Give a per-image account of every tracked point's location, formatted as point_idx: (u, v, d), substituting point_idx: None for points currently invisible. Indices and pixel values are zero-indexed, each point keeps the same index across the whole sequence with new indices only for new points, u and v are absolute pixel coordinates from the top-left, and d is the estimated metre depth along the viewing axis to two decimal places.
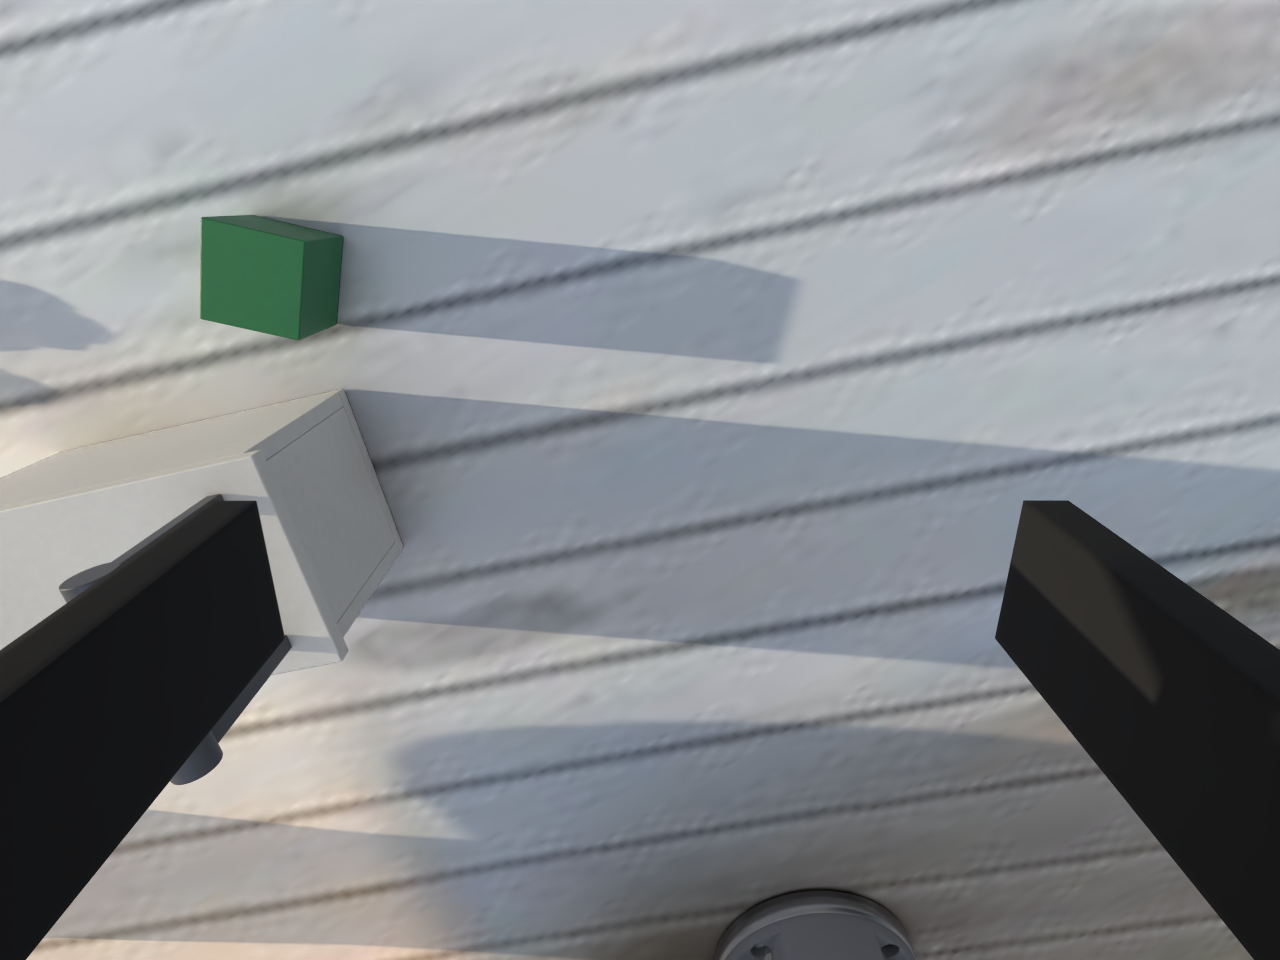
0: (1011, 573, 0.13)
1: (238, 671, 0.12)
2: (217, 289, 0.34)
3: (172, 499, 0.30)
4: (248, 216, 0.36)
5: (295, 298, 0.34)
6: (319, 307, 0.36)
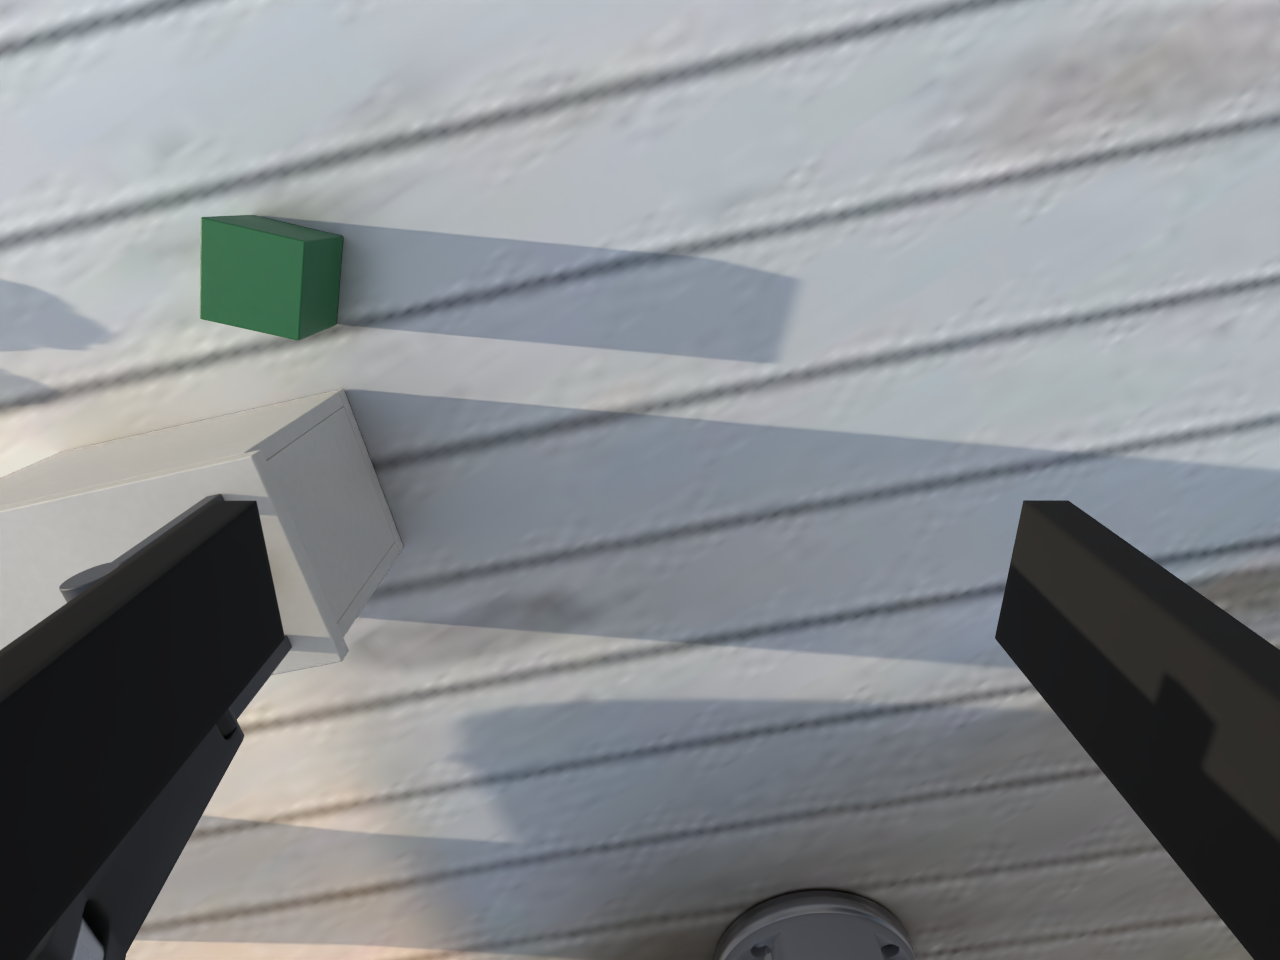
0: (1011, 573, 0.13)
1: (238, 671, 0.12)
2: (217, 289, 0.34)
3: (172, 499, 0.30)
4: (248, 216, 0.36)
5: (295, 298, 0.34)
6: (319, 307, 0.36)
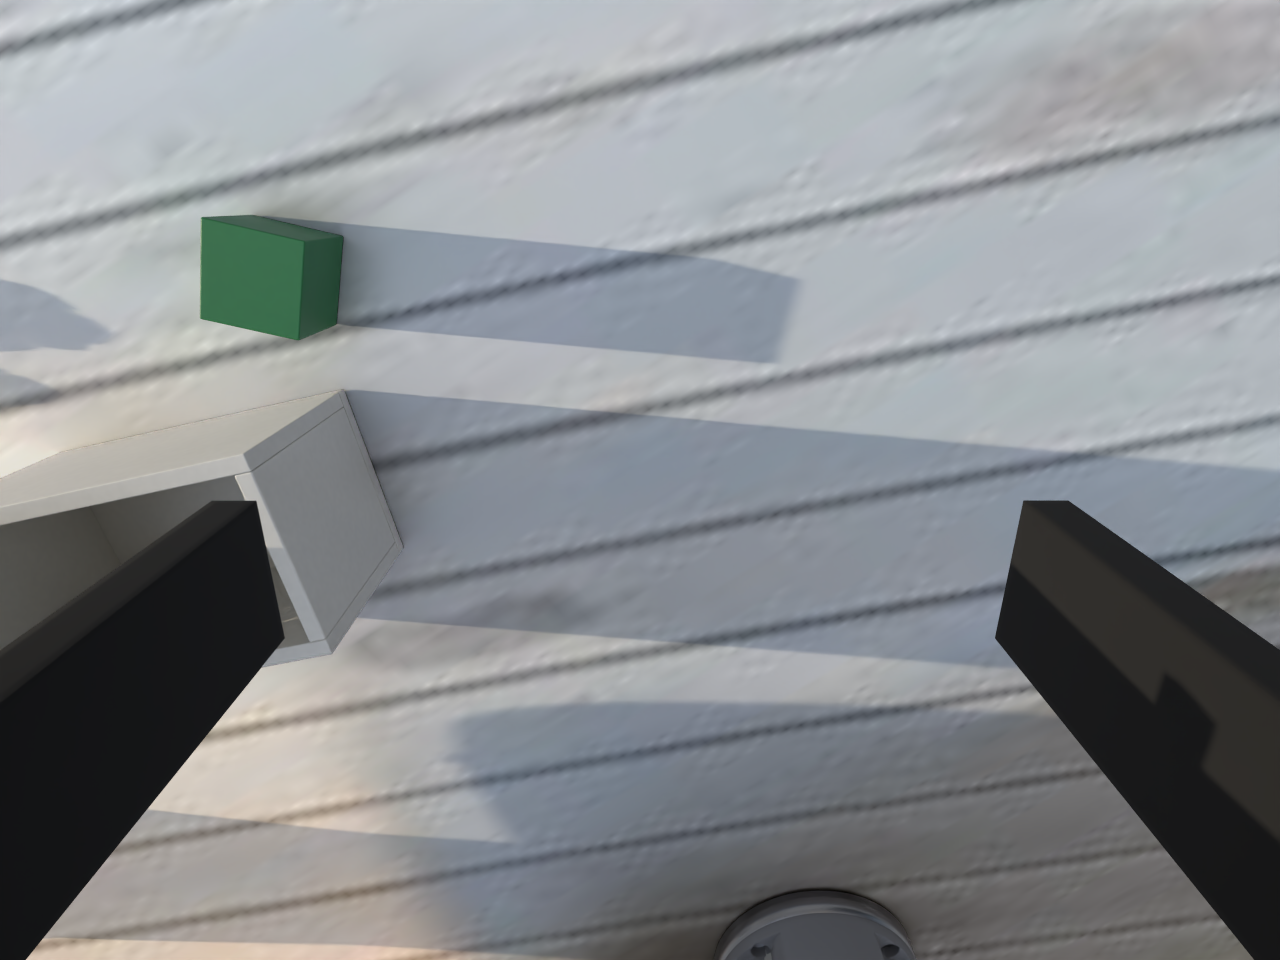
0: (1011, 573, 0.13)
1: (238, 671, 0.12)
2: (217, 289, 0.34)
3: None
4: (248, 216, 0.36)
5: (295, 298, 0.34)
6: (319, 307, 0.36)
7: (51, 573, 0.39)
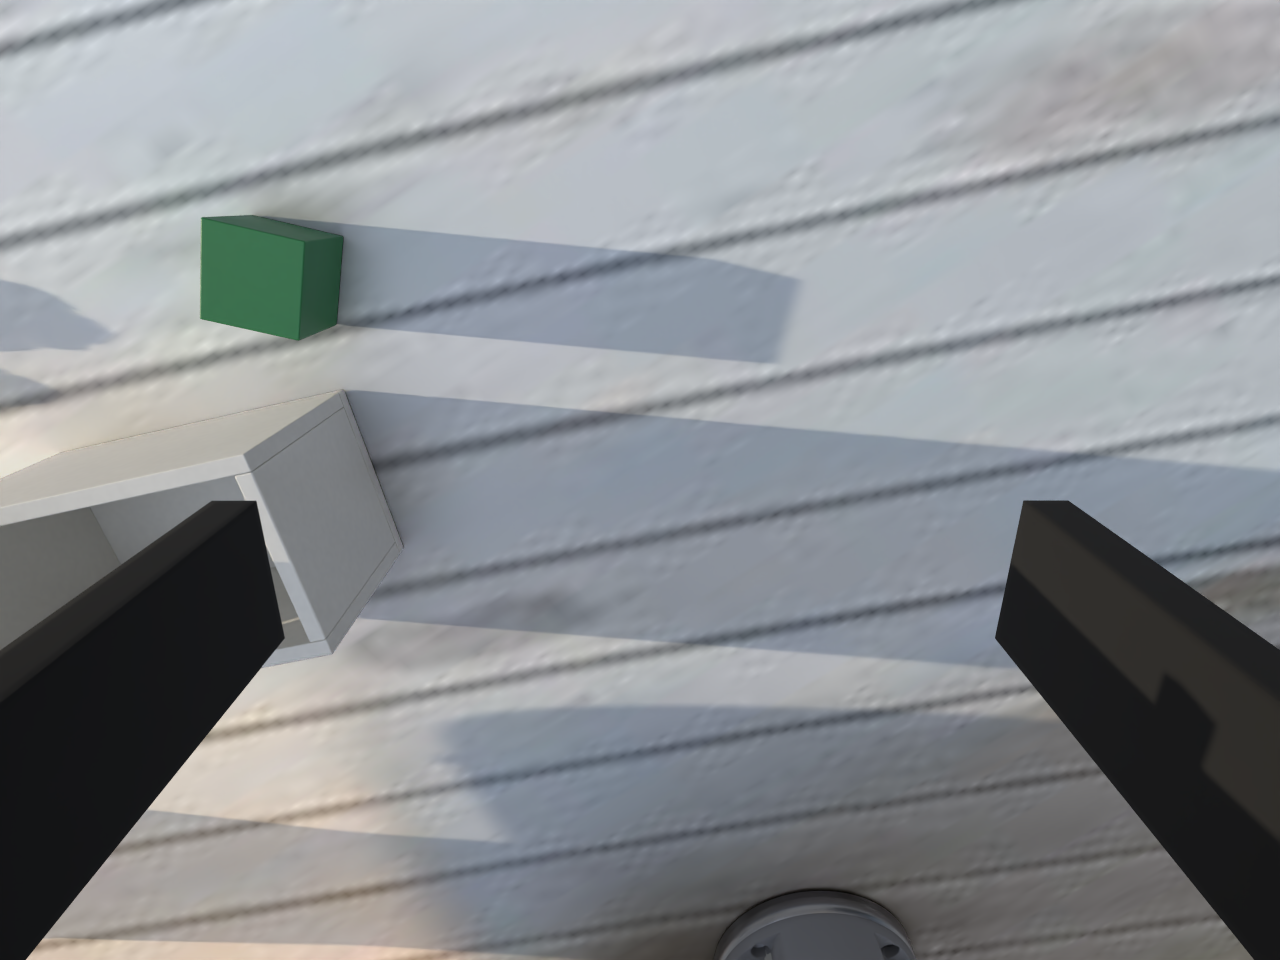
0: (1011, 573, 0.13)
1: (238, 670, 0.12)
2: (218, 289, 0.34)
3: None
4: (248, 216, 0.36)
5: (295, 298, 0.34)
6: (319, 307, 0.36)
7: (51, 574, 0.39)
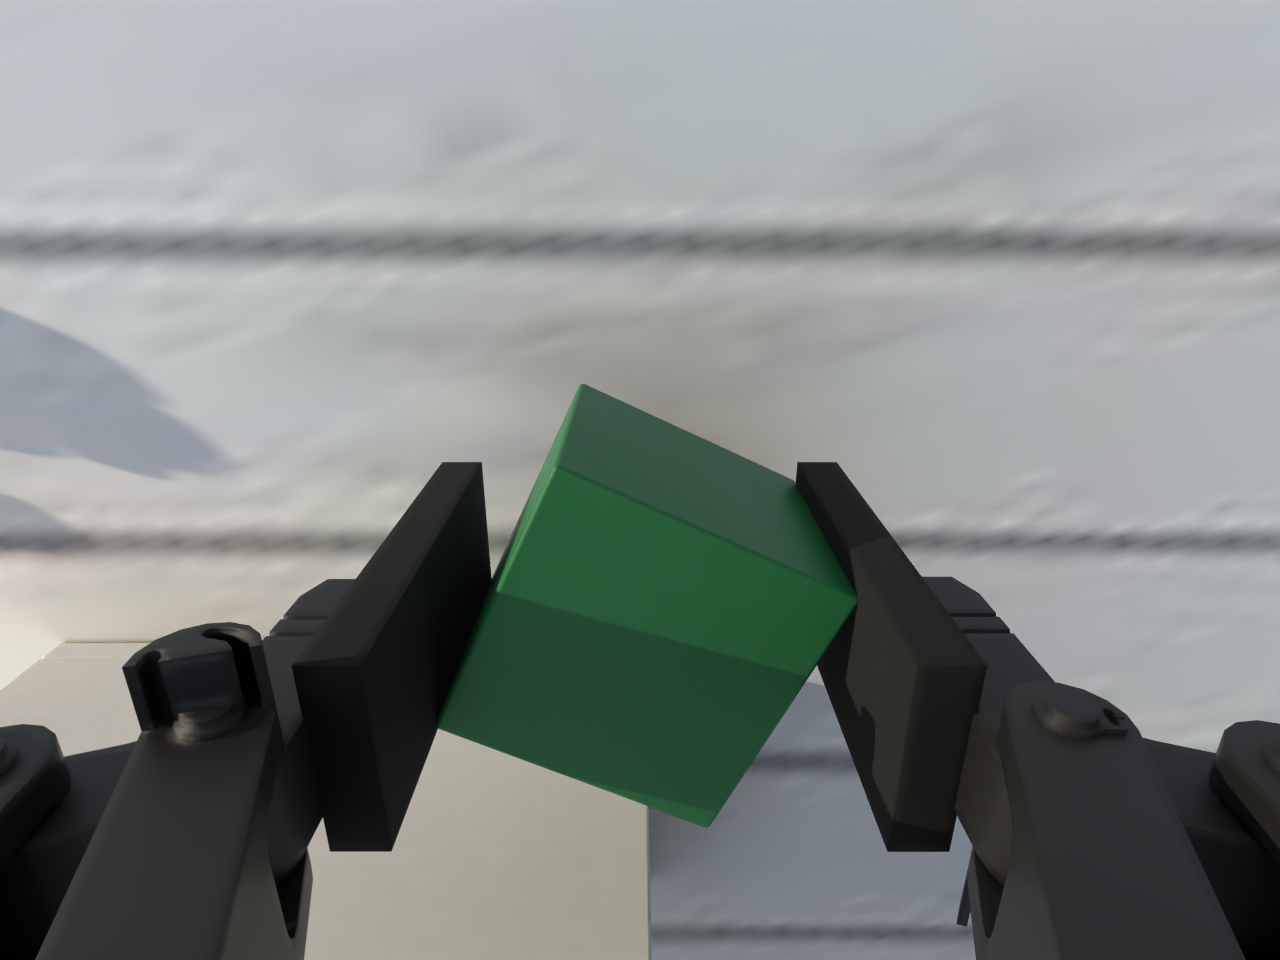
0: None
1: (475, 608, 0.13)
2: (523, 668, 0.10)
3: None
4: (594, 402, 0.13)
5: (753, 734, 0.11)
6: None
7: None
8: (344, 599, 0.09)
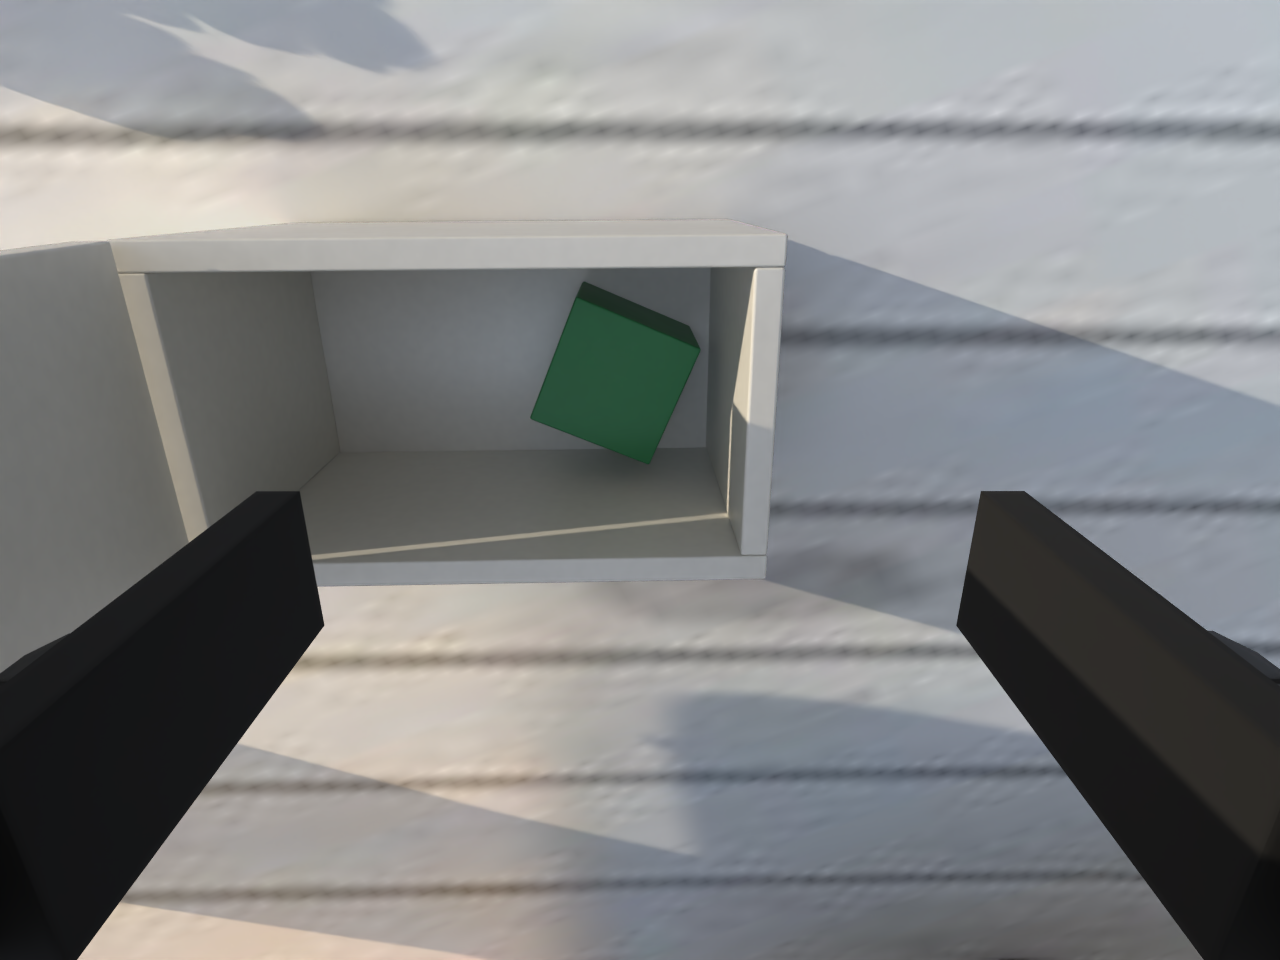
0: (971, 562, 0.13)
1: (284, 655, 0.12)
2: (567, 388, 0.25)
3: None
4: (589, 286, 0.28)
5: (663, 414, 0.26)
6: None
7: (279, 388, 0.26)
8: (27, 671, 0.08)
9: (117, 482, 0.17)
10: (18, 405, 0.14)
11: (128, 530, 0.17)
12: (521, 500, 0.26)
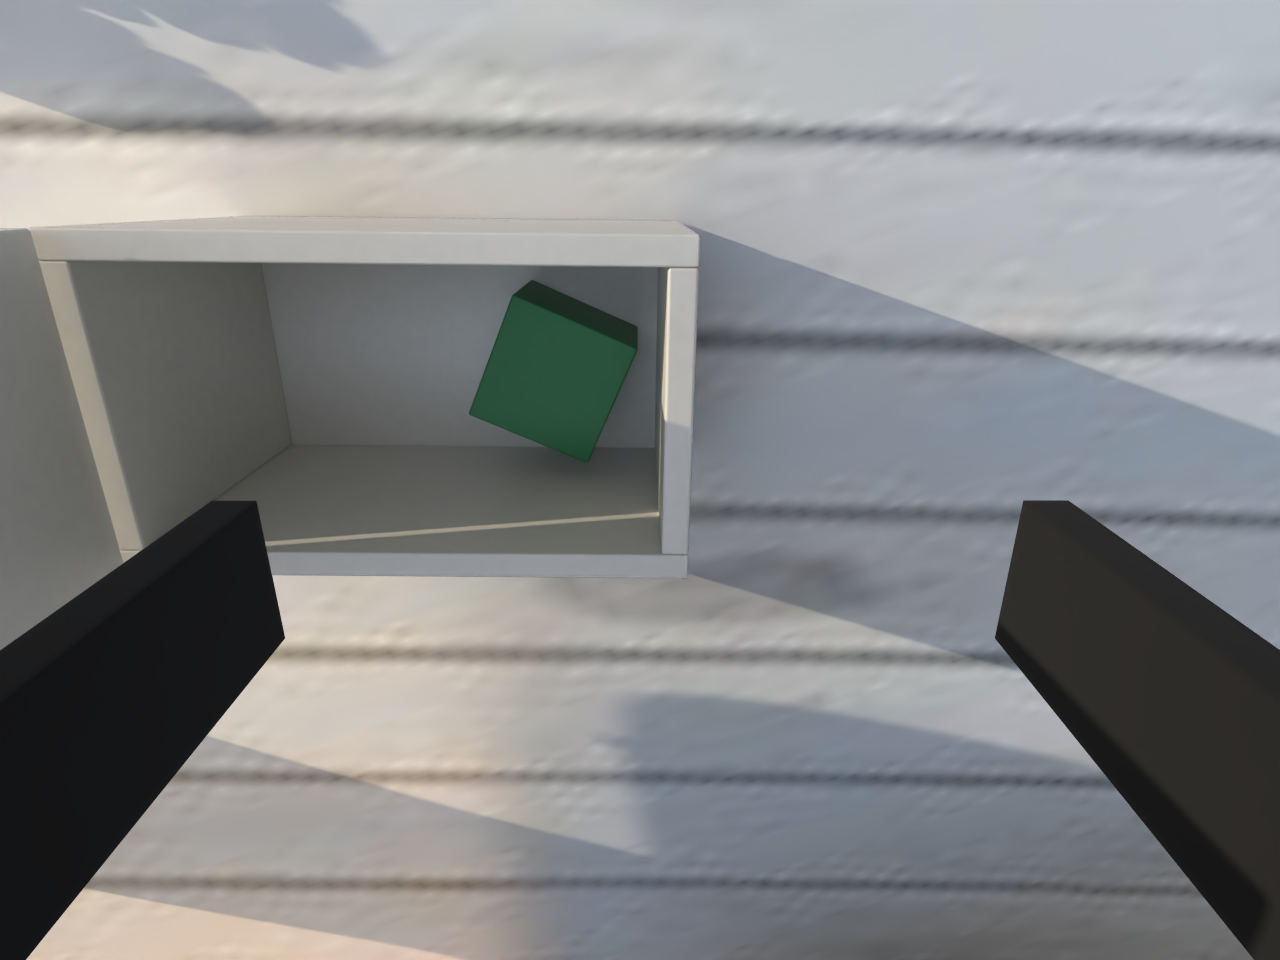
0: (1011, 573, 0.13)
1: (238, 671, 0.12)
2: (504, 384, 0.26)
3: None
4: (535, 285, 0.28)
5: (601, 413, 0.26)
6: None
7: (221, 379, 0.26)
8: None
9: (31, 465, 0.17)
10: None
11: (42, 512, 0.18)
12: (458, 495, 0.26)
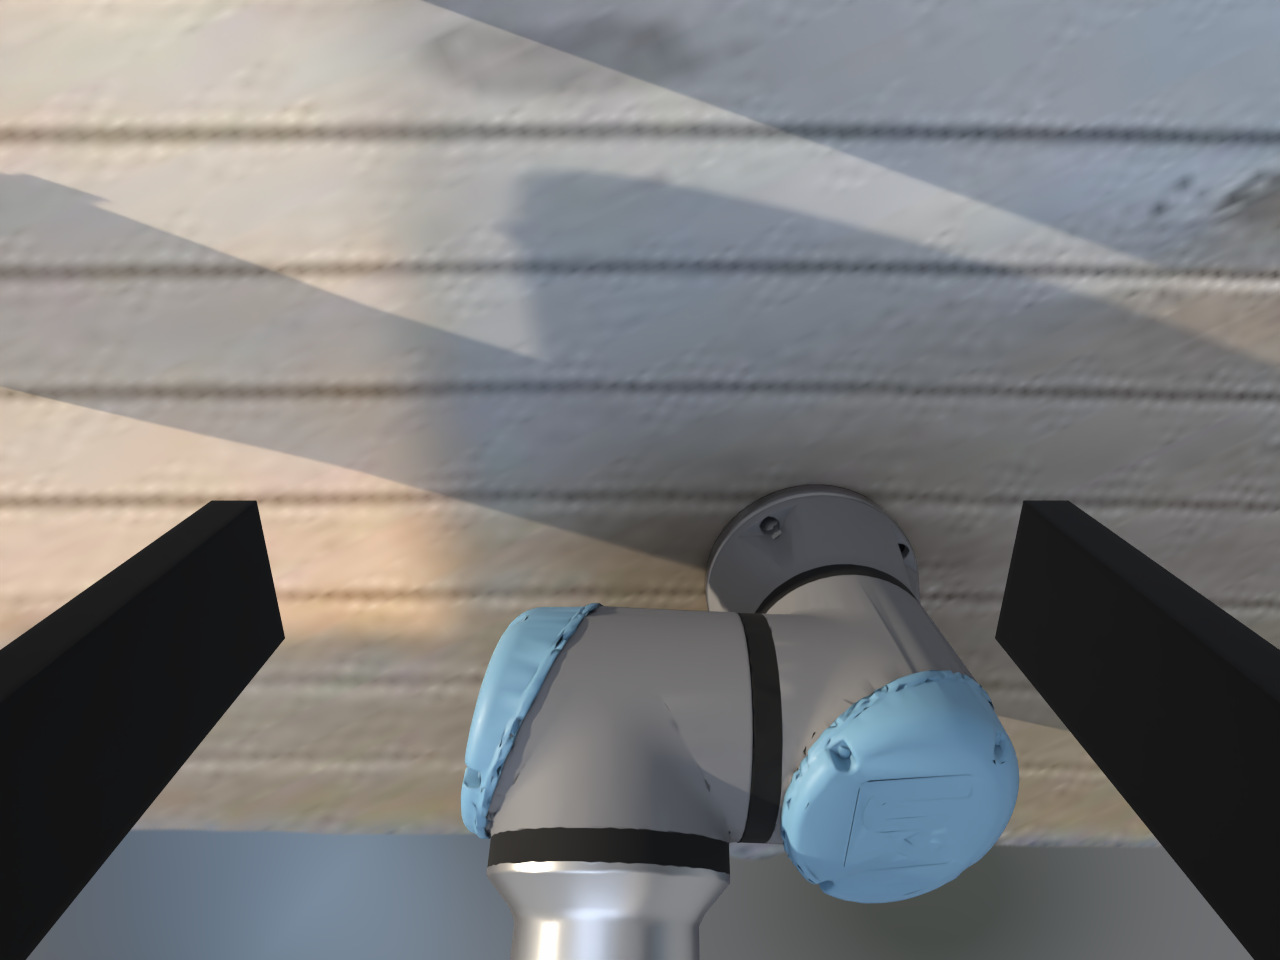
0: (1011, 573, 0.13)
1: (238, 670, 0.12)
2: None
3: None
4: None
5: None
6: None
7: None
8: None
9: None
10: None
11: None
12: None
